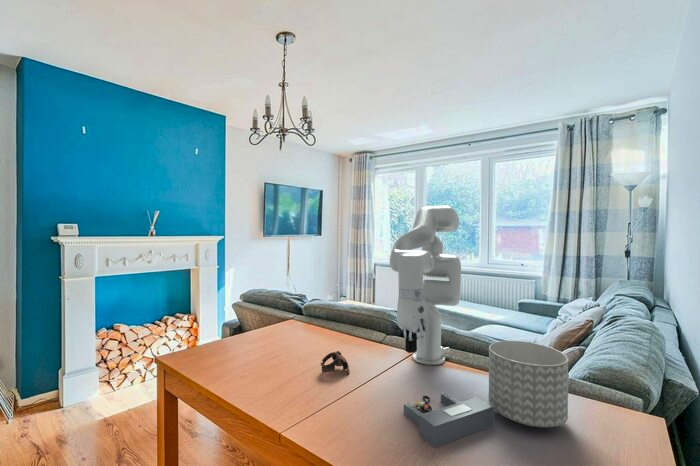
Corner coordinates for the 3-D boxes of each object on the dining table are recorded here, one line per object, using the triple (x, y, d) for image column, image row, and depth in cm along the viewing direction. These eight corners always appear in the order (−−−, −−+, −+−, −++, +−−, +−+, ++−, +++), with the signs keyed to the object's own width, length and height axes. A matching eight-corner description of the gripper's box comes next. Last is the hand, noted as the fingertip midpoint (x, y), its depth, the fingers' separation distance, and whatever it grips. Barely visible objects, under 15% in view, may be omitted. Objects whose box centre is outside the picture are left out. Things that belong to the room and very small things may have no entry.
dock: (450, 399, 101) (451, 381, 101) (493, 425, 88) (493, 405, 88) (396, 415, 92) (396, 396, 92) (434, 447, 79) (434, 425, 79)
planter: (537, 448, 78) (538, 371, 78) (473, 410, 95) (474, 346, 95) (583, 427, 87) (583, 357, 87) (517, 395, 104) (517, 337, 104)
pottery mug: (351, 380, 115) (340, 361, 114) (327, 390, 117) (316, 372, 115) (352, 358, 127) (342, 341, 125) (330, 367, 128) (320, 351, 127)
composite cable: (423, 397, 103) (423, 389, 103) (438, 401, 101) (438, 393, 101) (413, 412, 94) (413, 403, 94) (429, 417, 92) (429, 408, 92)
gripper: (436, 296, 98) (436, 357, 99) (406, 287, 112) (406, 341, 113) (416, 300, 95) (416, 363, 96) (387, 290, 108) (387, 345, 109)
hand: (411, 351), depth 104 cm, fingers closed
